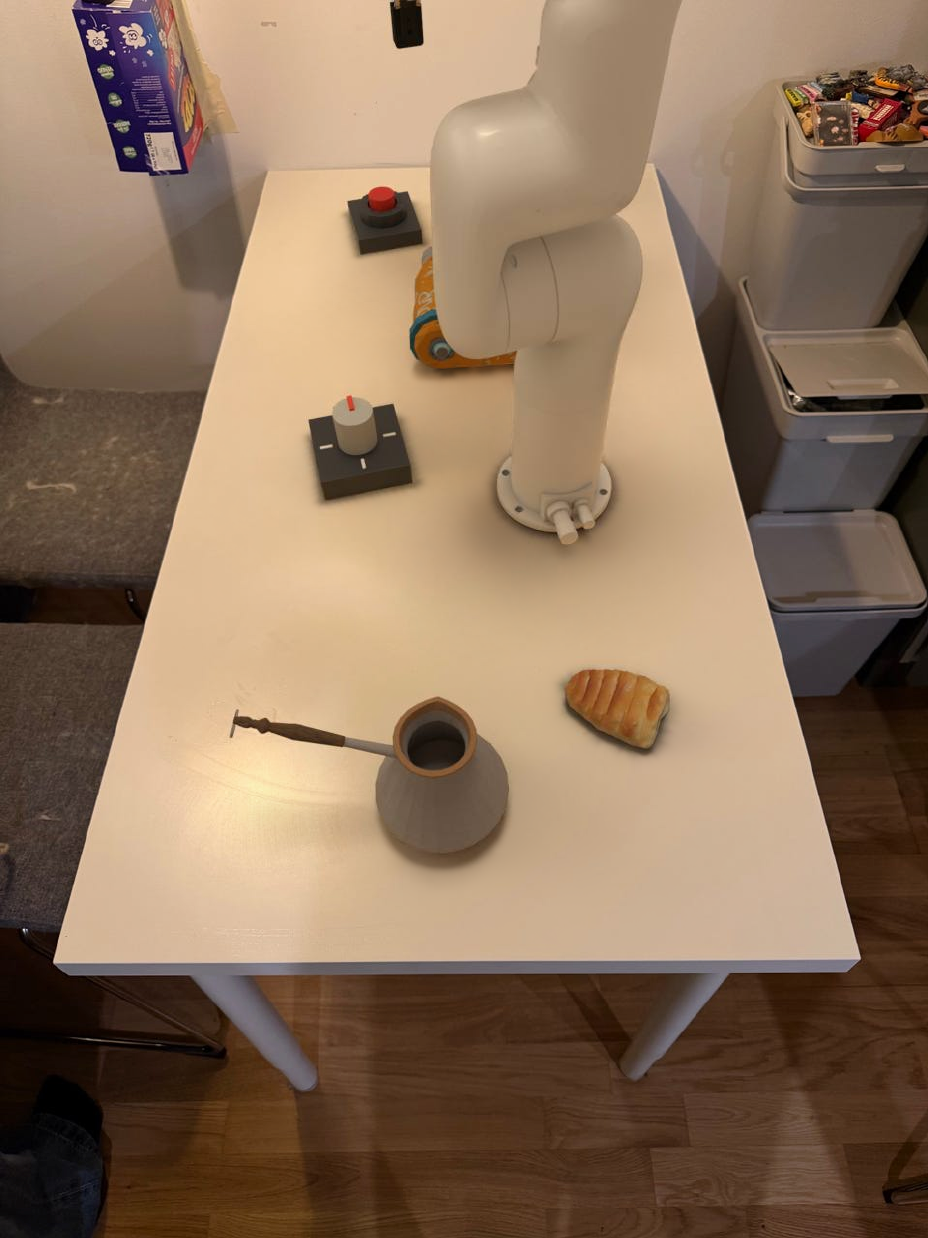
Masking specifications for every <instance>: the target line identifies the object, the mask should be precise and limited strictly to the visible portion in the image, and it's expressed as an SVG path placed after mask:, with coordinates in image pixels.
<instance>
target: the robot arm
mask: <svg viewBox="0 0 928 1238" xmlns="http://www.w3.org/2000/svg"><path fill="white" fill-rule="evenodd" d="M682 2H683V0H545V1H544V6H543V8H542V11H541V17H540V29H539V44H538V45H539V56H538V64H537V66H536V69H537V70H536V69H535V71H536V74H535V76H534V78H533V80H532V81H531V82H530V83H529V84H528V85H527V84H526V85H525V86H523V87H520V88H518V89H513V90H508V91H504V92H499V93H494V94H491V95H486V96H482V97H478V98H474V99H471V100H468V101H466V102H463V103H460V104H459V105H457V106H455V107H454V108H452V109H451V110H450V111H448V112H447V113H446V114H445V116H443V118H442V120H441V121H440V123H439V124H438V126H437V128H436V131H435V133H434V136H433V139H432V144H431V148H430V156H429V157H430V158H429V159H430V160H429V196H430V197H429V198H430V222H431V223H430V225H431V246H432V256H433V283H434V298H435V306H436V312H437V317H438V321H439V325H440V328H441V331H442V333H443V336H444V338H445V340H446V341H447V343H448V344H449V346H450V347H451V348H452V349H453V350H454V351H455V352H456V353H458V354H459V355H461V356H463V357H466V358H470V359H483V358H489V357H494V356H498V355H502V354H507V353H510V352H514V351H517V354H516V358H515V364H513V382H512V383H513V384H512V385H513V386H512V387H513V388H512V421H511V422H512V423H511V424H512V427H511V455H509V457H507V459H505V461H504V462H503V463H502V465H501V466H500V468H499V471H498V473H497V479H496V493H497V497H498V500H499V503H500V505H501V507H502V508H503V509H504V511H505V512H506V513H507V514H508V515H509V516H510V517H511V518H513V520H514V521H516V522H518V523H520V524H522V525H523V526H525V527H528V528H530V529H533V530H536V531H543V532H547V533H549V532H550V533H557V536H558V538H559V541H560V543H561V544H562V545H571V544H574V543H575V542H576V541H578V539H579V533H578V531H577V530H579V529H580V528H583V529H584V530H590V529H592V528H594V527H595V526H596V520H597V519H598V518H599V517H600V516H601V515H602V514H603V513H604V511H605V510H606V509H607V506H609V505H608V504H609V501H610V499H611V493H612V478H611V474H610V472H609V469H608V468H607V466H606V465H605V463H604V462H603V461H602V460H603V453H604V445H605V440H606V432H607V426H608V421H609V413H610V407H611V400H612V392H613V387H614V381H615V374H616V369H617V363H618V357H619V354H620V349H621V345H622V341H623V339H624V334H625V332H626V329H627V326H628V324H629V322H630V320H631V317H632V314H633V312H634V309H635V306H636V304H637V301H638V298H639V295H640V290H641V286H642V281H643V272H644V271H643V270H644V261H643V259H644V258H643V252H642V251H643V250H642V247H641V244H640V240H639V237H638V236H637V234H636V232H635V230H634V229H633V227H632V226H631V224H630V223H629V222H628V221H626V219H624V217H621V216H620V215H618V214H619V213H621V212H622V211H623V210H625V209H626V208H627V207H628V206H629V205H630V204H631V203H632V201H634V198H635V197H636V195H637V193H638V192H639V189H640V186H641V184H642V181H643V178H644V175H645V171H646V166H647V162H648V158H649V153H650V150H651V149H650V148H651V143H652V140H653V134H654V129H655V125H656V119H657V115H658V110H659V105H660V100H661V95H662V90H663V85H664V81H665V75H666V70H667V66H668V60H669V55H670V50H671V49H670V48H671V45H672V38H673V34H674V29H675V26H676V23H677V18H678V14H679V11H680V8H681V5H682ZM389 9H390V10H389V11H390V20H391V32H392V40H393V43H394V46H395V47H396V49H398V50H400V49H408V48H409V49H410V48H417V47H422V46H423V45H424V43H425V39H424V37H425V36H424V25H423V24H424V23H423V7H422V2H421V0H393V1H389Z"/></svg>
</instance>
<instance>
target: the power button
mask: <svg viewBox="0 0 928 1238" xmlns="http://www.w3.org/2000/svg"><path fill="white" fill-rule="evenodd" d="M394 191H395V190H394V189H393V188H391V187H389V186H384V185H383V186H382V185H381V186H376V187H373V188H372V189H370V190H369V191H368V193H367V194H368V196H369V203H370V208H371V209H372V210H374V211H379V212H383V211H389V210H391V209H393V208H394V207H395V196H394Z"/></svg>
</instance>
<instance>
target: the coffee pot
mask: <svg viewBox="0 0 928 1238" xmlns="http://www.w3.org/2000/svg"><path fill="white" fill-rule="evenodd" d="M239 713H240V709H238V708H237V709H235V712H234V716H233V719H232V724H231V728H230V733H229V739H232V738H233V737H234V734H235V730H236V726H238V727H240V728H244V729H254V730H257V731H258V733H260V735H265V734H266V733H271V734H273V735H277V736H279V737H283V738H285V739H287V740H291V741H294V742H295V741H296V742H304V743H311V744H315V745H322V746H331V747H338V748H348V749H353V750H357V751H362V752H367V753H370V754H375V755H379V756H384V759H383V760H382V762H381V764H380V766H379V768H378V772H377V776H376V780H375V784H374V785H375V803H376V806H377V810H378V812H379V816H380V818H381V820H382V821H383V823H384V824H385V826H386V827H387V829H388V831H390V832H391V833H392V834H393V835H394V836H395V837H396V838H397V839H399V840H400V841H401V842H402V843H404V844H406V845H407V846H409V847H411V848H413V849H416V850H418V851H422V852H427V853H432V854H446V853H456V852H459V851H461V850H465V849H468V848H470V847H473V846H475V845H476V844H478V843H479V842H480V841H482V840H483V839H484V838H486V837H488V835H490V833H491V832H492V831H493V830H494V828H495V827H496V826H497V825H498V823H499V822H500V821H501V818H502V816H503V814H504V811H505V810H506V808H507V804H508V798H509V792H510V786H509V776H508V771H507V769H506V766H505V764H504V761H503V759H502V757H501V755H500V754H499V753H498V751H497V750H496V748H495V747H494V746H493V745H492V743H491V742H489V741H487V740H486V739H485V738H484V737H482V736H481V735H480V734H478V732H477V728H476V724H475V723H474V720H473V718H471V716H470V715H469V713H468V712H467V711H466V710H464V708H462V707H460V706H459V705H458V704H456V703H454V702H452V701H450V700H449V699H447V698H443V697H441V696H434V697H430V698H428V699H426V700H423V701H421V702H418V703H416V704H415V705H413V706H412V707H410V708H408V709H407V710H406V711H405V712H404V713H403V714H402V715H401V716H400V718H399V719H398V721H397V722H396V723H395V726H394V730H393V734H392V744H387V743H381V742H376V741H370V740H364V739H358V738H352V737H347V736H346V735H342V734H338V733H335V732H334V733H333V732H330V731H327V730H322V729H319V728H315V727H311V726H307V725H303V724H300V723H293V722H292V723H290V722H289V723H288V722H274V721H270V720H269V718H267V717H263V718H260V719H253V718H252V717H250V716H243V715H240V716H239Z"/></svg>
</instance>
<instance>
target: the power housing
mask: <svg viewBox="0 0 928 1238" xmlns="http://www.w3.org/2000/svg"><path fill="white" fill-rule="evenodd" d="M393 191H394V196H395V207H394V208H393V209H391V210H389V211H383V212H379V211H374V210H372V209H371V208H370V203H369V196H368V194H369V193H367V194H365V195H363V196H362V197H361V198H355V199H351V200H347V202H346V203H347V210H348V215H349V220H350V222H351V226H352V229H353V233H354V236H355V240H356V243H357V247H358V250H359V253H360V255H365V254H370V253H377V252H382V251H388V250H395V249H400V248H407V247H412V246H413V247H414V246H419V245H424V241H423V229H422V226H421V224H420V220H419V218H418V215H417V212H416V210H415V207H414V205H413V201H412V199H411V197H410V193H409V191H408V190H407V191H401V192H398V191H396V190H393Z"/></svg>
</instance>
